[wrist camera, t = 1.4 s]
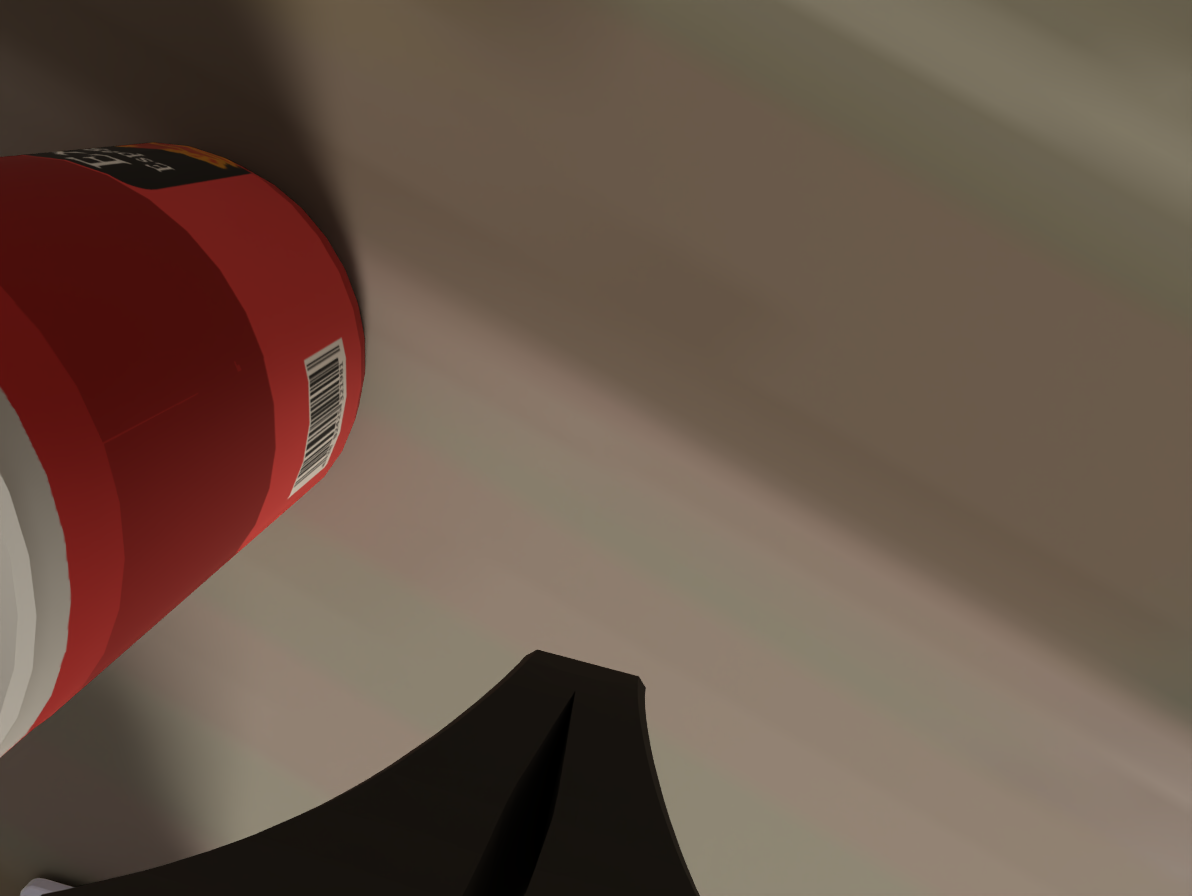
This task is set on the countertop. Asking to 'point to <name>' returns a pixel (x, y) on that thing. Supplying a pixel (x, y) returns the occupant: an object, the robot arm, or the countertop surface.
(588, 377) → the countertop surface
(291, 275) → the canned food
